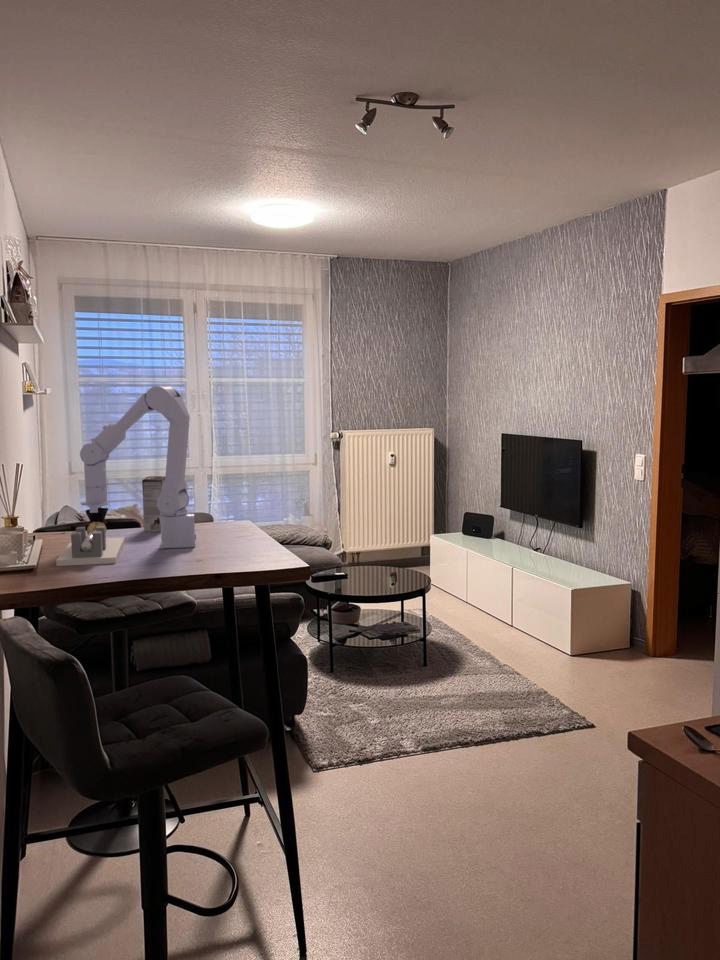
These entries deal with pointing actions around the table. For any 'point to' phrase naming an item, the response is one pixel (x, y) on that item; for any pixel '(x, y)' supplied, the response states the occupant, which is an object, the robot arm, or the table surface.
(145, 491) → the coffee box
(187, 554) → the table surface
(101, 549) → the shaft housing
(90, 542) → the shaft
